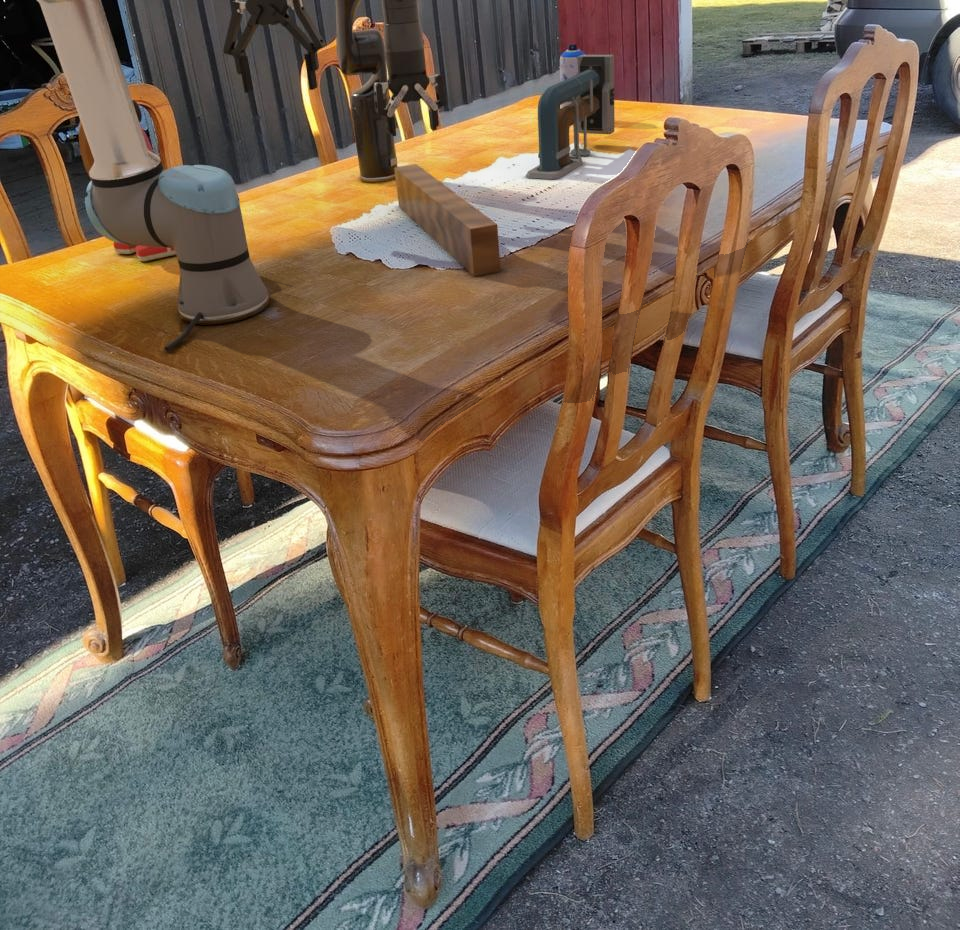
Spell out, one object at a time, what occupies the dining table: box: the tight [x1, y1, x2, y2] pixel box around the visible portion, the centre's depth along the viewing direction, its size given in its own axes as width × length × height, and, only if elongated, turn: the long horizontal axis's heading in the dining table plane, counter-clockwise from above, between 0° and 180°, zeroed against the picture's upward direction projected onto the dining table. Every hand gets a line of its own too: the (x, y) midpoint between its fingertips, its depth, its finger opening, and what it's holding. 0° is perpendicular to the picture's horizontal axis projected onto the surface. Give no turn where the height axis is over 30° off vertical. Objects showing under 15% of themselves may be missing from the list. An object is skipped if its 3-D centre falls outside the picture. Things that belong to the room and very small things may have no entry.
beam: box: [394, 163, 501, 277], centre depth 191 cm, size 51×5×9 cm, turn 19°
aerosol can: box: [559, 43, 586, 109], centre depth 273 cm, size 8×8×20 cm
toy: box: [78, 99, 177, 262], centre depth 190 cm, size 21×10×30 cm, turn 47°
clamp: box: [525, 54, 615, 180], centre depth 232 cm, size 35×9×21 cm, turn 151°
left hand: (281, 90), depth 192 cm, fingers open, 13 cm apart
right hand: (413, 132), depth 197 cm, fingers open, 8 cm apart
